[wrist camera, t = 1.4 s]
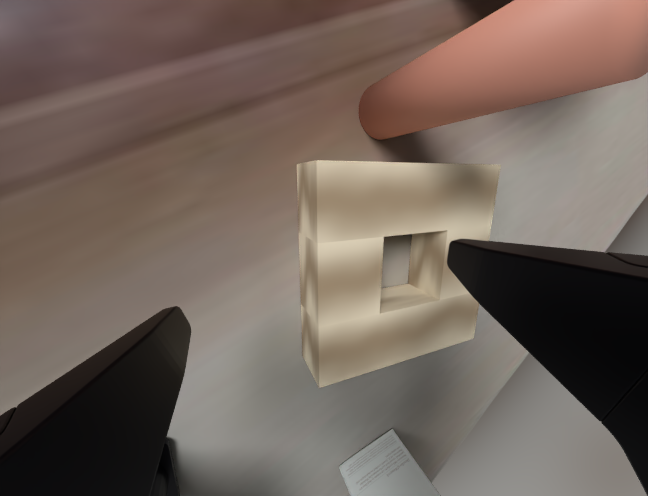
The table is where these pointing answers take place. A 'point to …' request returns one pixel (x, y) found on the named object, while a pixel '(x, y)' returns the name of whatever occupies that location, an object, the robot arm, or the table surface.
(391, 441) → the supplement box
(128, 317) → the table surface
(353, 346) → the socket board
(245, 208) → the table surface
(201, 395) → the table surface
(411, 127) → the peg
